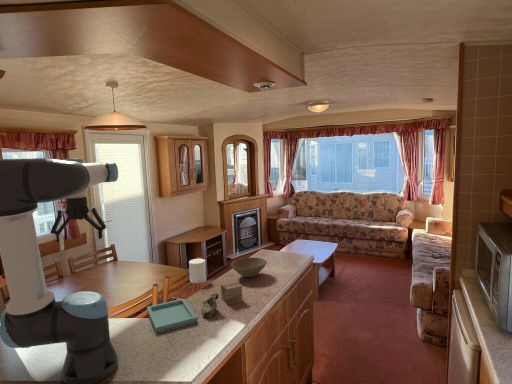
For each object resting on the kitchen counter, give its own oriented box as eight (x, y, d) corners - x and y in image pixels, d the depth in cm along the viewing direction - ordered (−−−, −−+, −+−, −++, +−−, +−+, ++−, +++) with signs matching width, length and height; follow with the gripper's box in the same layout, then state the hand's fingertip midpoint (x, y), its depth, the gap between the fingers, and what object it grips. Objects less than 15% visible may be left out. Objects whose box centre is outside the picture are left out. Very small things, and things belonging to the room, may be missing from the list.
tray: (197, 322, 128) (197, 317, 127) (156, 333, 121) (155, 327, 120) (183, 303, 145) (183, 298, 144) (147, 311, 138) (146, 306, 137)
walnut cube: (242, 301, 145) (241, 285, 144) (227, 305, 142) (226, 289, 141) (235, 295, 151) (235, 280, 150) (221, 298, 148) (220, 283, 147)
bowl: (233, 270, 183) (233, 256, 182) (267, 270, 183) (266, 256, 182) (229, 283, 165) (229, 268, 164) (267, 283, 164) (266, 267, 163)
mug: (192, 264, 164) (184, 258, 174) (193, 284, 165) (185, 277, 175) (207, 261, 168) (198, 255, 178) (208, 281, 169) (199, 274, 179)
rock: (226, 312, 132) (222, 290, 139) (211, 310, 128) (208, 287, 135) (214, 323, 136) (211, 300, 143) (199, 321, 132) (196, 298, 138)
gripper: (110, 193, 141) (114, 242, 143) (44, 197, 135) (49, 248, 137) (107, 195, 134) (112, 247, 136) (37, 199, 128) (43, 253, 130)
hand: (80, 248), depth 137 cm, fingers open, 13 cm apart
